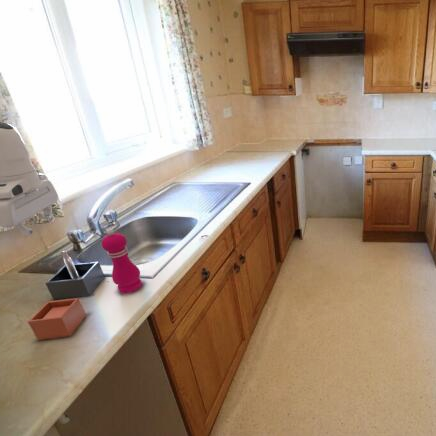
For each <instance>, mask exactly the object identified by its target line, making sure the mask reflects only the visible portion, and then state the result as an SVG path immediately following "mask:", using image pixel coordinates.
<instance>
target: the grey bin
mask: <svg viewBox="0 0 436 436" xmlns="http://www.w3.org/2000/svg"><path fill="white" fill-rule="evenodd" d="M73 264H74V267H75V269H76V271H77V274H78V275H79V276H83V277H82V278H79V279H72V278H71V276H70V273H69V271H68V270H67V269H68V268H67V266H66V265H65V264H64V265H63V266H62V267H61V268H60V269H59V270H57V272H55V274H53V275H52V277H50V278H49V279H48V280H47V281H46V282H45V286H46V288H47V290H48V292H49V294H50V296H51V298H52V301H56V300H65V299H73V298H81V297H89V296H91V295H92V294H93V292H94V291H95V290H96V288H97V287H98V286H99V285H100V284H101V283H102V281H103V280H104V279H105V278H106V276H105V273H104V271H103V268H102V266H101V264H100V261H91V262H81V263H73Z"/></svg>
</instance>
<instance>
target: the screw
mask: <svg viewBox="0 0 436 436" xmlns="http://www.w3.org/2000/svg"><path fill="white" fill-rule="evenodd" d="M60 254H61V256H62V260H63V262H64V265H66V266H67V268H68V269H67V270H68V271H69V273H70V276H71V278H72V279H79V278H82V277H83V276H79V275H78V274H77V271H76V269H75V267H74V264H75V263H74V262H73V259H72V258H71V256H70V255H69V253H68V251H67V250H62V251H61V252H60Z"/></svg>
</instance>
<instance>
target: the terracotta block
mask: <svg viewBox="0 0 436 436" xmlns="http://www.w3.org/2000/svg"><path fill="white" fill-rule="evenodd" d="M68 307H69V306H64V307H56V308H52V309H51V310H50V311H49V312H48V313H47V314H46V315H45V316H44V317H43V318H42V319H45V318H54V317H61V315H62V314H63V313H64V312H65V311H66V310H67V309H68Z"/></svg>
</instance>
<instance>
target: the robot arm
mask: <svg viewBox="0 0 436 436" xmlns="http://www.w3.org/2000/svg"><path fill="white" fill-rule="evenodd" d="M58 201H59V195H58V192H57V190H56V188H55V186H54V184H53V183H52V182H51V181H50V179H48V177H47V175H45V174H44V173H38V172H37V169H36V167H35V166H34V164H33V163H32V162H31V159H30V153H29V150H28V148H27V145H26V143H25V141H24V139H23V137H22V136H21V134H20V133H19V131H18V130H17V128H16V127H15V126H13V125H12V124H10V123H8V122H2V121H0V227H1V228H12V227H14V229H17V230H18V231H19V232H20V233H21V235H22V236H23V237H25V236H30V235H31V234H32V233H33V230H32V228H31V227H28V226H26V221H27V220H28V219H30V218H31V217H33V216H35V215H37V214H38V213H39V212H41V211H43V215H42V219H43V221H44V222H51V221H52V220H54V217H53V206H52V205H53V204H55V203H57V202H58Z"/></svg>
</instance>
